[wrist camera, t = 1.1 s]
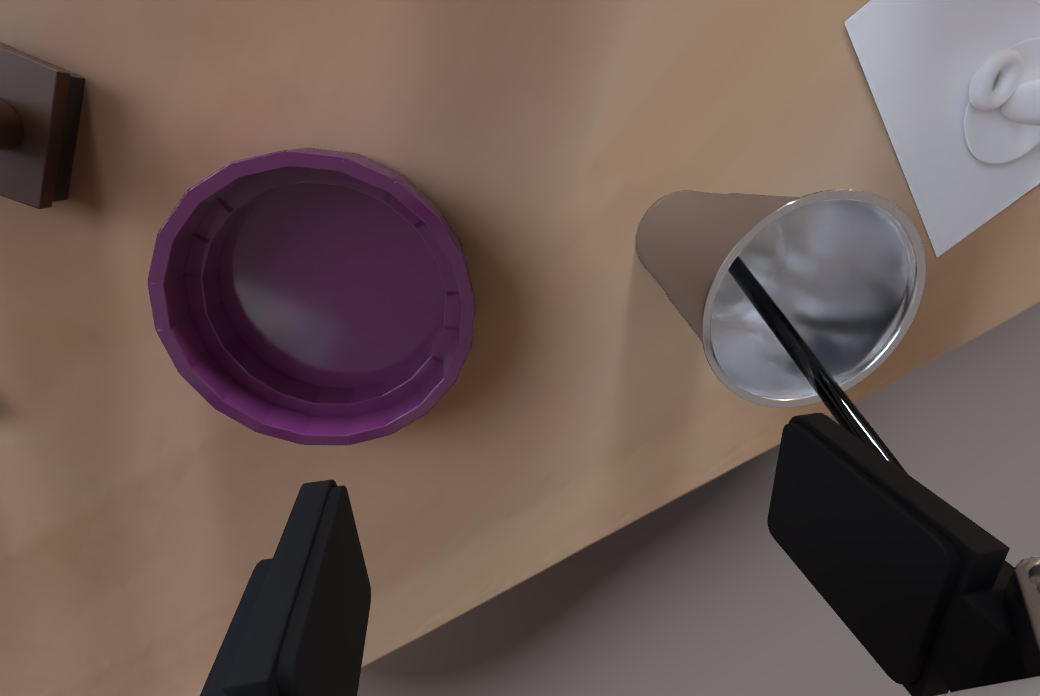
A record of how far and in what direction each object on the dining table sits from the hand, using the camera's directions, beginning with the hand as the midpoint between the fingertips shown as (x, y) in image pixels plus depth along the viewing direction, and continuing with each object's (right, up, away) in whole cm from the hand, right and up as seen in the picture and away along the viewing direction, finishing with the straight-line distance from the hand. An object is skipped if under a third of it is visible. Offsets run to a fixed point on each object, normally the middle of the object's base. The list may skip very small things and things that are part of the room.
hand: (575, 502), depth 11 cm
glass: (+10, +11, +26) cm, 30 cm away
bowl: (-13, +7, +23) cm, 28 cm away
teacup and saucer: (+33, +24, +24) cm, 47 cm away
